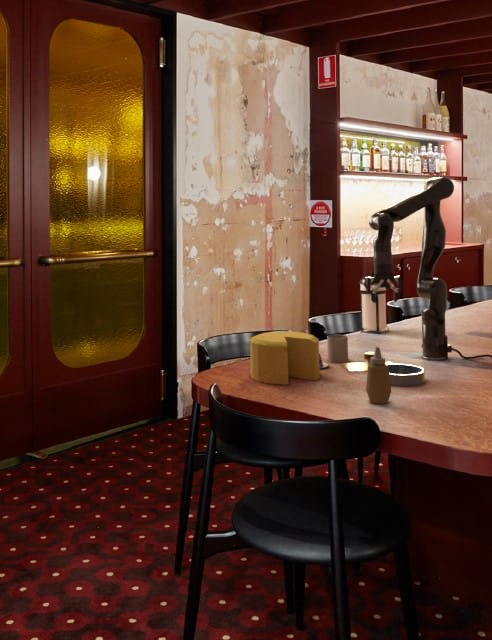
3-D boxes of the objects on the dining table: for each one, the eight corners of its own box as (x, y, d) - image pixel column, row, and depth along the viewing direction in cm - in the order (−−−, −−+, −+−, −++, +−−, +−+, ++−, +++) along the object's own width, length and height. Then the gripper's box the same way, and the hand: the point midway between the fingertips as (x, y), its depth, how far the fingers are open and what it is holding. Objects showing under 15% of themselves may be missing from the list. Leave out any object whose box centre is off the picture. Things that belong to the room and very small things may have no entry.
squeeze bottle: (363, 399, 241) (361, 345, 241) (386, 397, 241) (385, 344, 242) (371, 405, 233) (369, 349, 233) (395, 404, 233) (393, 348, 233)
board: (392, 364, 290) (392, 361, 290) (402, 372, 276) (402, 369, 276) (342, 365, 290) (342, 362, 290) (350, 373, 276) (350, 371, 276)
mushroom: (376, 364, 286) (376, 351, 286) (380, 367, 280) (379, 354, 280) (362, 365, 286) (362, 351, 286) (366, 368, 280) (365, 354, 280)
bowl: (416, 375, 270) (415, 363, 271) (431, 387, 253) (430, 374, 253) (370, 376, 271) (369, 364, 271) (382, 388, 253) (381, 375, 253)
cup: (348, 362, 294) (347, 338, 294) (327, 362, 296) (327, 338, 296) (348, 358, 302) (347, 334, 302) (328, 358, 304) (327, 334, 304)
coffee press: (395, 333, 355) (393, 272, 355) (362, 334, 355) (360, 273, 355) (385, 327, 372) (384, 269, 372) (354, 328, 372) (353, 270, 372)
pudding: (292, 365, 292) (292, 352, 292) (317, 362, 297) (317, 349, 297) (308, 371, 281) (308, 358, 281) (334, 368, 286) (333, 354, 286)
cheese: (312, 386, 258) (311, 344, 258) (242, 382, 267) (241, 341, 267) (325, 370, 283) (324, 331, 283) (260, 366, 292) (259, 329, 292)
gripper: (367, 264, 289) (369, 304, 289) (403, 262, 289) (405, 302, 289) (363, 262, 297) (365, 301, 297) (397, 260, 297) (399, 300, 297)
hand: (384, 302), depth 293 cm, fingers open, 8 cm apart
